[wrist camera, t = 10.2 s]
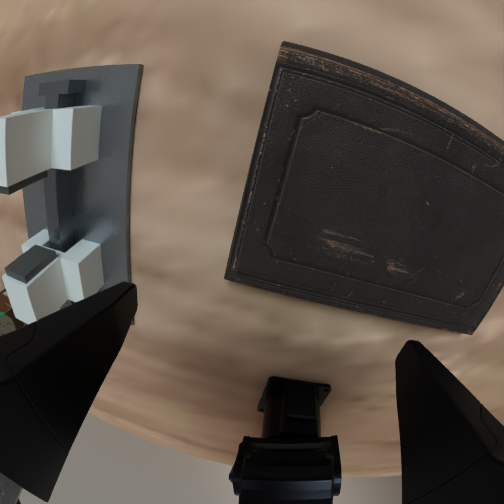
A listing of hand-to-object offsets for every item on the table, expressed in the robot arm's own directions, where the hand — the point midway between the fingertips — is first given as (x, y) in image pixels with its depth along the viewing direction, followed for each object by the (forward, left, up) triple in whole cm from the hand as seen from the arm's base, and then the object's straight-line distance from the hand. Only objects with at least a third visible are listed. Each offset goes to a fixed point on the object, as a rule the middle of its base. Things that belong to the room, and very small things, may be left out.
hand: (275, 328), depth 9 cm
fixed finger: (+3, +17, -11) cm, 21 cm away
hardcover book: (+2, -9, -13) cm, 16 cm away
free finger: (-8, +17, -11) cm, 22 cm away
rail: (-3, +17, -12) cm, 21 cm away
